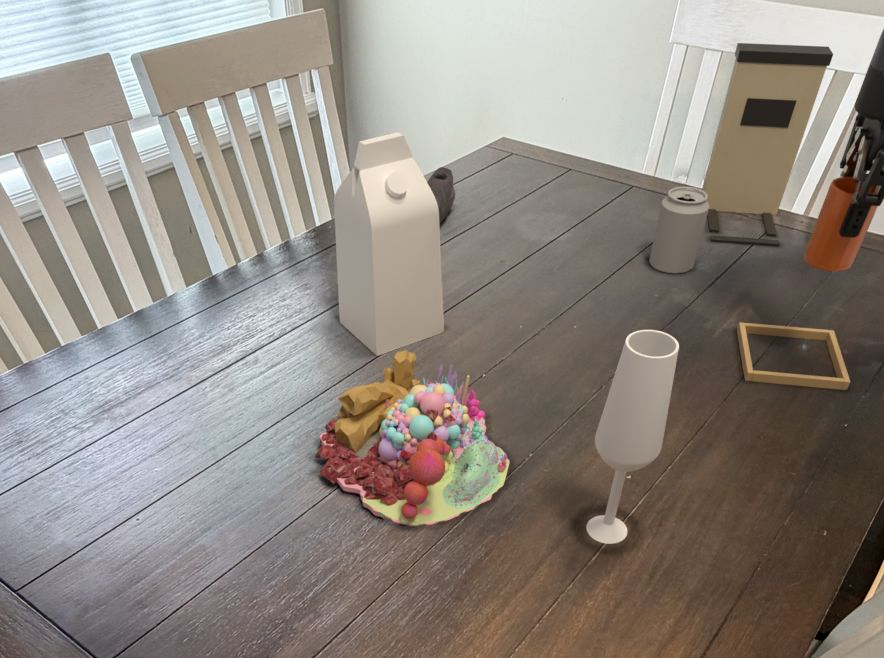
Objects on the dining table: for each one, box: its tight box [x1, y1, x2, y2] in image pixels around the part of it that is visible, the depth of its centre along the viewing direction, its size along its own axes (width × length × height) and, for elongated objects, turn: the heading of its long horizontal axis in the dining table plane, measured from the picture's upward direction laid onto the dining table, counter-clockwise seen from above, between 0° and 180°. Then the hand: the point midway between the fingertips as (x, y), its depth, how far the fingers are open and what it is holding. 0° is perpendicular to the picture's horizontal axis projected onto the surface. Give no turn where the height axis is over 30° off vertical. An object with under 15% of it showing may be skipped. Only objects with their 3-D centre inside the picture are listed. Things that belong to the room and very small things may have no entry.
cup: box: [803, 176, 881, 272], centre depth 92 cm, size 6×6×9 cm
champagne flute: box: [586, 329, 680, 545], centre depth 75 cm, size 7×7×24 cm
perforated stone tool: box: [426, 166, 456, 225], centre depth 135 cm, size 15×5×7 cm, turn 164°
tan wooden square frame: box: [736, 321, 851, 391], centre depth 105 cm, size 14×14×2 cm
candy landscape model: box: [314, 349, 511, 527], centre depth 90 cm, size 25×24×9 cm
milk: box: [333, 132, 445, 357], centre depth 103 cm, size 12×12×26 cm
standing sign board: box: [701, 42, 834, 248], centre depth 125 cm, size 15×18×26 cm
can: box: [648, 186, 709, 274], centre depth 121 cm, size 8×8×12 cm
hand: (843, 223), depth 92 cm, fingers closed on cup, 6 cm apart
